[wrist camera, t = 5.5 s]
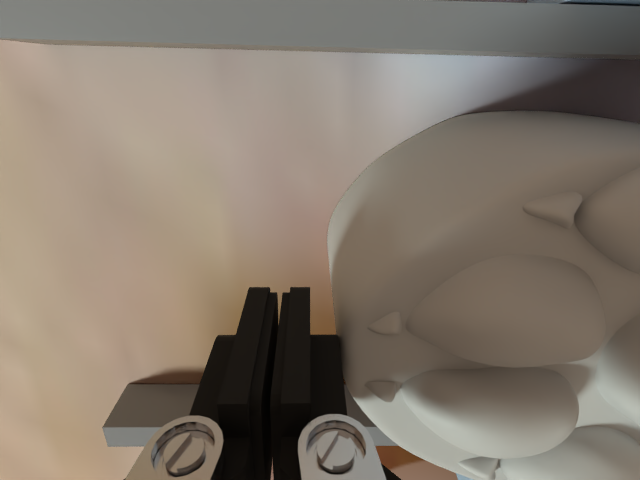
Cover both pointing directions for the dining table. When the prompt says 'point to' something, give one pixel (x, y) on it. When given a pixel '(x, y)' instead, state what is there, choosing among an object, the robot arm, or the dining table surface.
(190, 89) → the dining table surface
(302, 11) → the grey long bars
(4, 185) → the dining table surface
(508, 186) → the lumpy-topped squat cylinder
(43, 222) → the dining table surface
